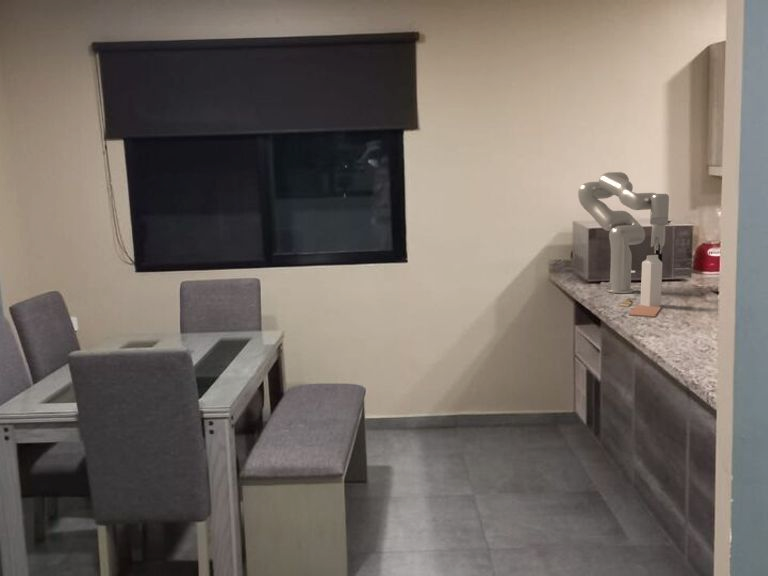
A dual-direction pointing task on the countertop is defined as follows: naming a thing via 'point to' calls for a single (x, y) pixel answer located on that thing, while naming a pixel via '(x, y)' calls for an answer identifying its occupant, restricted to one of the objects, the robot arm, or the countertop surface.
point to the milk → (651, 281)
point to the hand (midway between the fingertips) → (657, 262)
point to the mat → (645, 311)
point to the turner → (626, 303)
